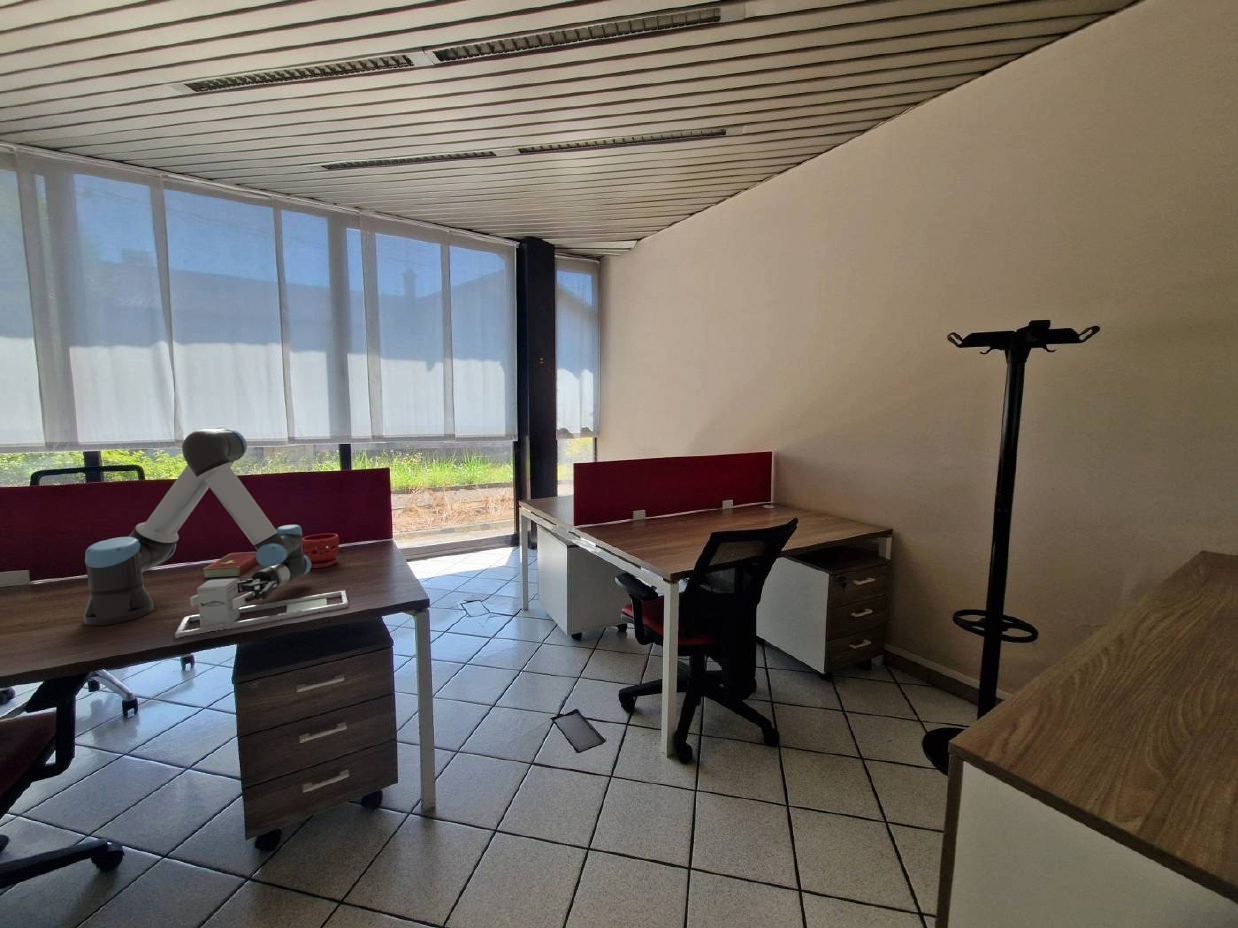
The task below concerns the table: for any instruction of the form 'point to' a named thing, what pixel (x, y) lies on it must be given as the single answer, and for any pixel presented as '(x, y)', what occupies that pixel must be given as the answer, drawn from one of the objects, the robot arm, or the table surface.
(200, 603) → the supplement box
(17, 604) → the table surface
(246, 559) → the hardcover book
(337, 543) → the plant pot
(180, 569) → the table surface
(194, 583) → the table surface
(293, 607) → the pad
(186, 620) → the rail track
